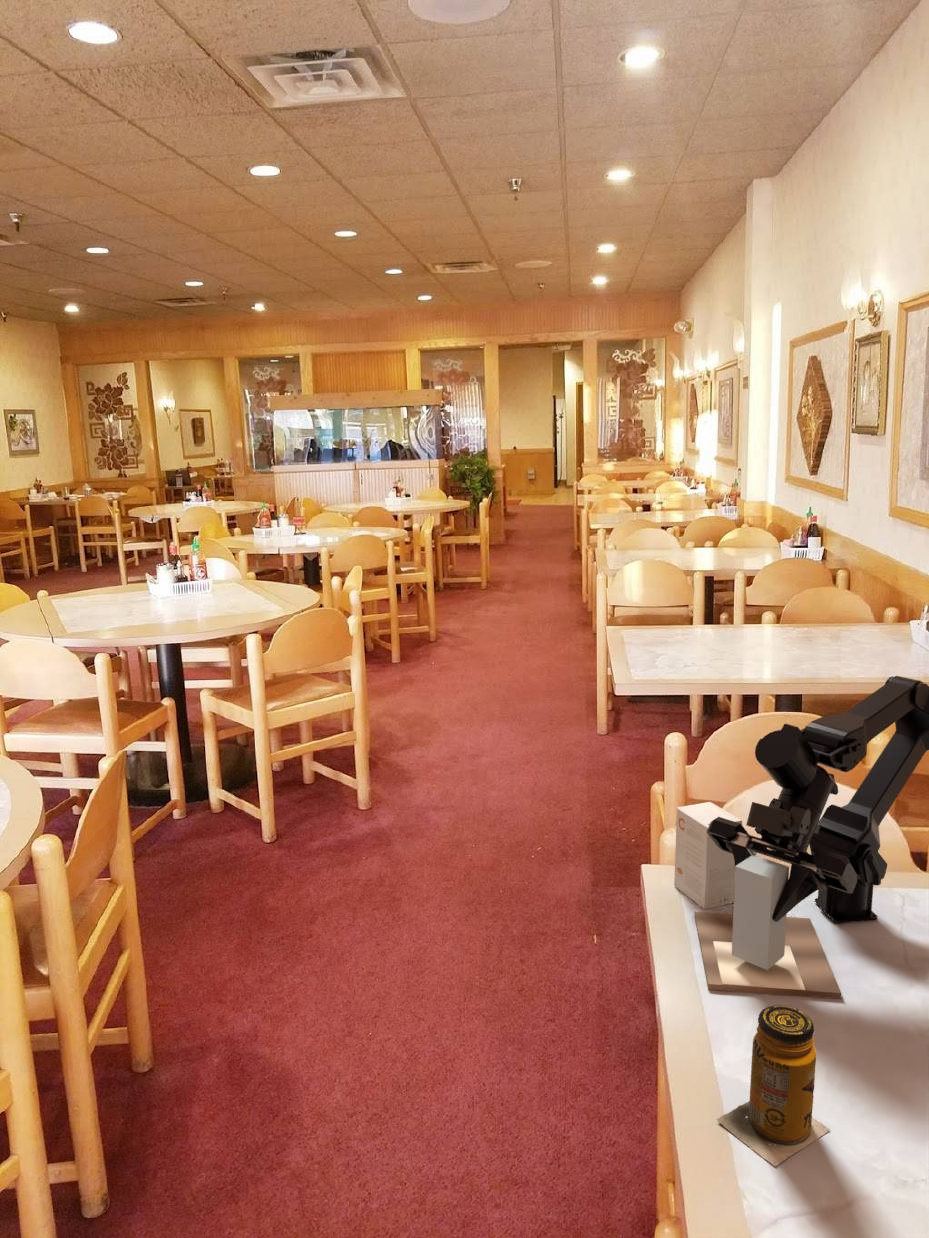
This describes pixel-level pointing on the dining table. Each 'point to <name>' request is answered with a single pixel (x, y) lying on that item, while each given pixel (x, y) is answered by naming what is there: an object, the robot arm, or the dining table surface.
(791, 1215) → the dining table surface
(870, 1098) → the dining table surface
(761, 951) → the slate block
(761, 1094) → the condiment
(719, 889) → the small box
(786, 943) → the brown square board
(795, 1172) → the dining table surface
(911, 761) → the robot arm
